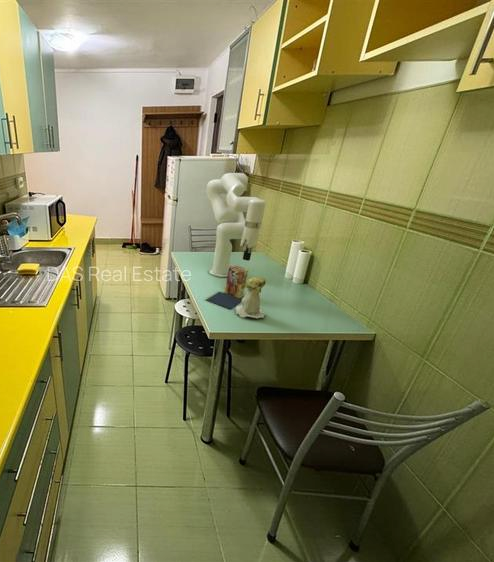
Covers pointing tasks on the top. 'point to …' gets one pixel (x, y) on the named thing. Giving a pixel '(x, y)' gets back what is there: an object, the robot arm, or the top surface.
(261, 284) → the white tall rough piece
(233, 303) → the mat
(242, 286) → the candy box
